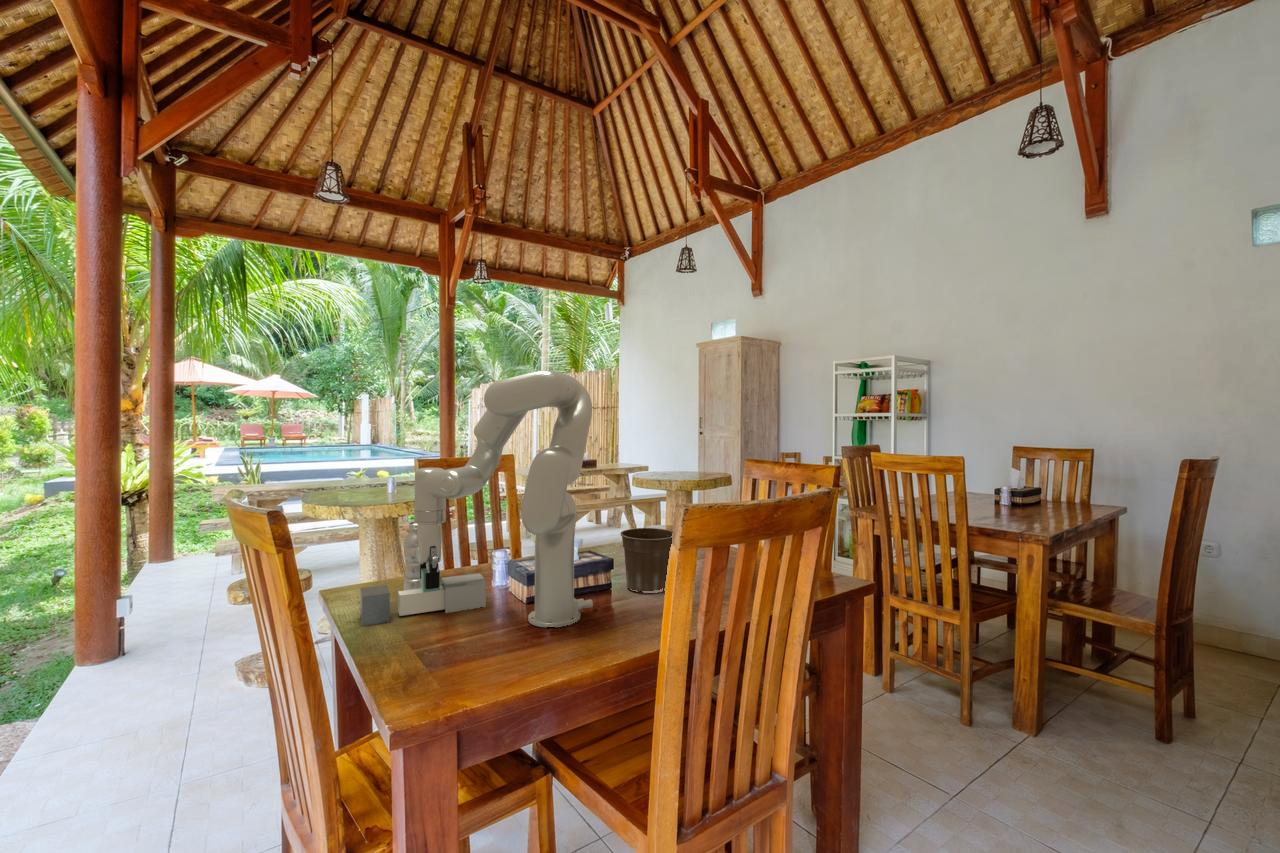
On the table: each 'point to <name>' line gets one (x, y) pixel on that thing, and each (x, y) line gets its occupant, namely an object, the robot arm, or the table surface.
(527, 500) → the robot arm
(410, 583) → the plastic bottle
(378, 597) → the socket block
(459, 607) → the gray rectangular block
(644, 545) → the plant pot
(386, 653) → the table surface
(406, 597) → the long white box
